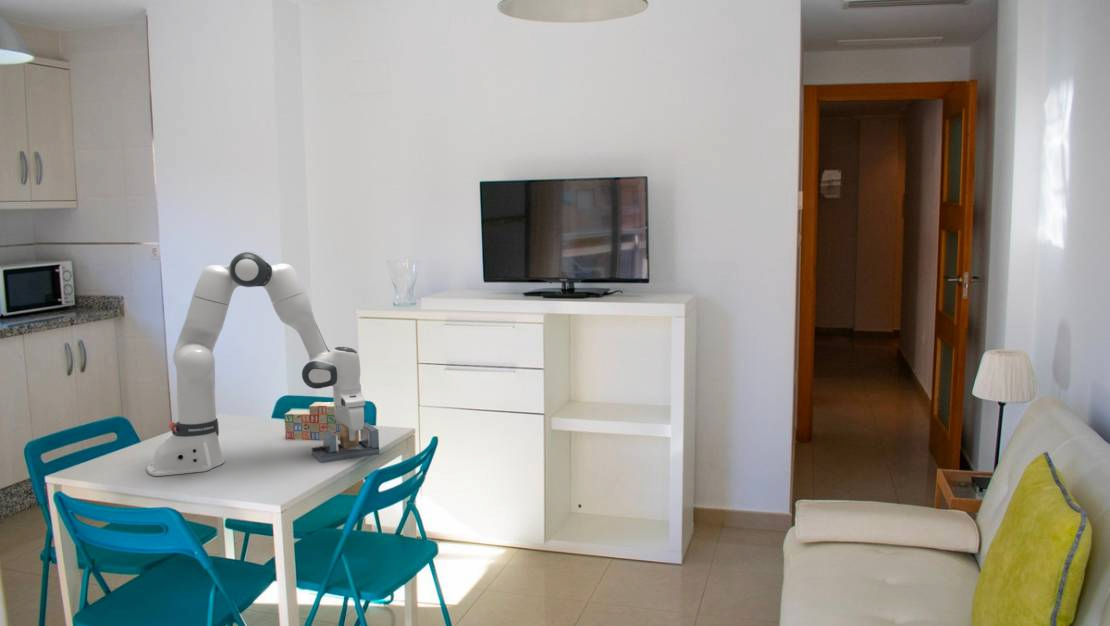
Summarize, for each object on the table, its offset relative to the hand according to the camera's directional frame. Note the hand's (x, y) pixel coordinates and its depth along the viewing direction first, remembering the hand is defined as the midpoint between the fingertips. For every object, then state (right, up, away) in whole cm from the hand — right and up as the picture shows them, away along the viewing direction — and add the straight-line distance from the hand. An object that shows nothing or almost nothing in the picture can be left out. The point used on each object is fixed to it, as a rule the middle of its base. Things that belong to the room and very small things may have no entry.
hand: (349, 438), depth 296 cm
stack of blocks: (-16, -3, +21) cm, 27 cm away
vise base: (-1, -5, 0) cm, 5 cm away
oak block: (0, -2, 0) cm, 2 cm away
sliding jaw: (-5, -4, -3) cm, 7 cm away
